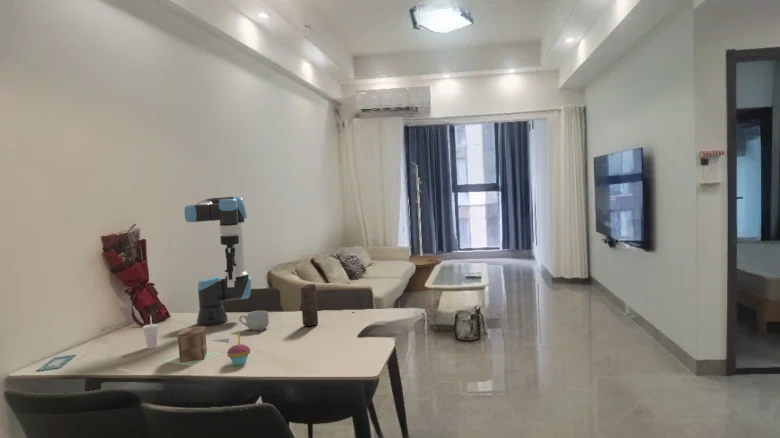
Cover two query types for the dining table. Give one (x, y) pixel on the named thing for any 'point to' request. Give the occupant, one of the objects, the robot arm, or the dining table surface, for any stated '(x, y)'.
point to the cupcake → (238, 353)
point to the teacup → (256, 320)
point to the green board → (189, 363)
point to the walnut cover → (192, 344)
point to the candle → (309, 305)
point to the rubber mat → (222, 340)
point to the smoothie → (151, 334)
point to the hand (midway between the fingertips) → (231, 284)
